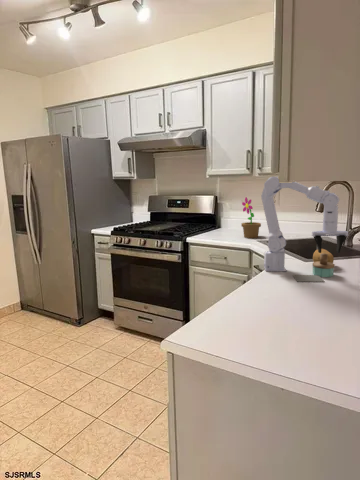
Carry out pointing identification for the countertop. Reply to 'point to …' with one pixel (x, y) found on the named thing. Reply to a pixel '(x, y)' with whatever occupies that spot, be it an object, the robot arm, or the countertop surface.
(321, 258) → the lid
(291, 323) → the countertop surface
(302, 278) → the mat
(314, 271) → the bowl
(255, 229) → the flowerpot
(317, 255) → the potato
